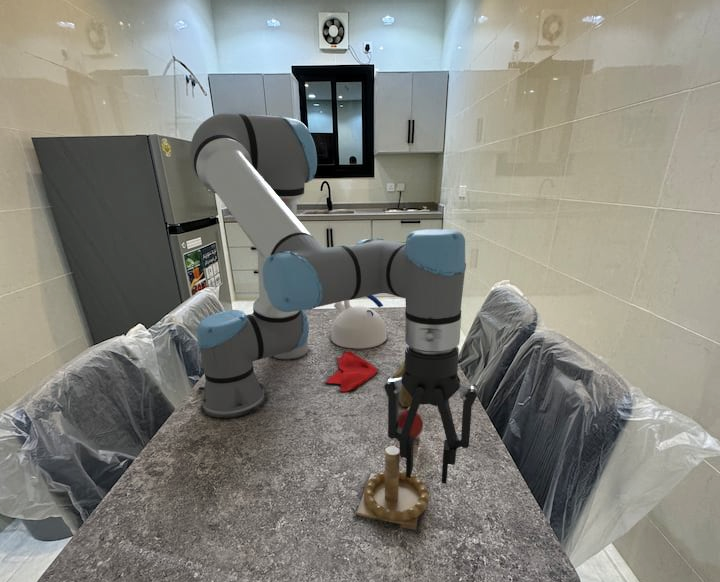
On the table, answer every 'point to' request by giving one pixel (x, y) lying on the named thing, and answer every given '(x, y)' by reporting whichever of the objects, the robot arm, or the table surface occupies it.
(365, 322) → the kettle
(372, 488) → the gold beaded ring
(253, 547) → the table surface
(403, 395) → the rock
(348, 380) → the cloth
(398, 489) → the stand
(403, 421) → the onion
